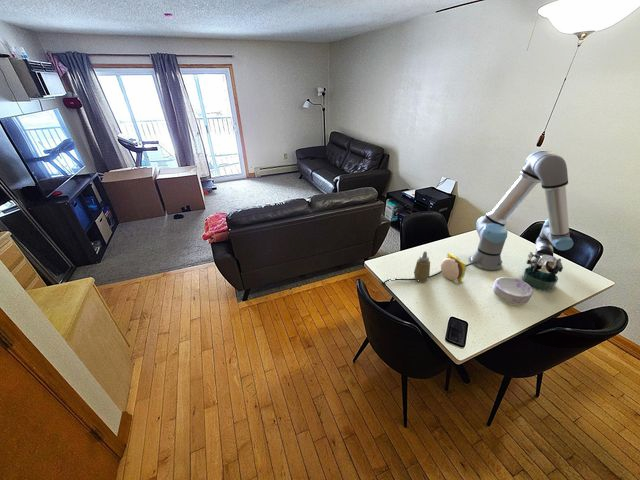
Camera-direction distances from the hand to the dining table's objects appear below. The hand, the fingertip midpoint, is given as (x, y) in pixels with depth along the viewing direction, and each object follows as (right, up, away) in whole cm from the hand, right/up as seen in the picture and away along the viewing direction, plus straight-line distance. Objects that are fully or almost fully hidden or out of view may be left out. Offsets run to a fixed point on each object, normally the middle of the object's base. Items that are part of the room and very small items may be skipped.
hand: (544, 272), depth 130 cm
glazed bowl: (+3, -6, +8) cm, 11 cm away
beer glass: (+3, -6, +8) cm, 10 cm away
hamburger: (-39, -5, +16) cm, 42 cm away
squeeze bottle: (-55, -6, +16) cm, 58 cm away
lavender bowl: (-18, -13, -1) cm, 22 cm away
